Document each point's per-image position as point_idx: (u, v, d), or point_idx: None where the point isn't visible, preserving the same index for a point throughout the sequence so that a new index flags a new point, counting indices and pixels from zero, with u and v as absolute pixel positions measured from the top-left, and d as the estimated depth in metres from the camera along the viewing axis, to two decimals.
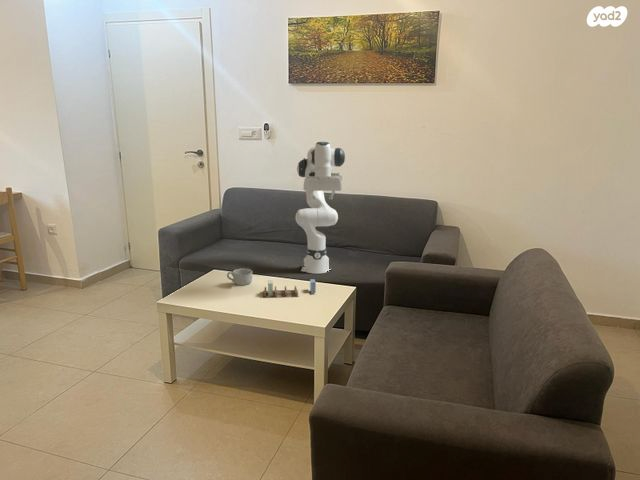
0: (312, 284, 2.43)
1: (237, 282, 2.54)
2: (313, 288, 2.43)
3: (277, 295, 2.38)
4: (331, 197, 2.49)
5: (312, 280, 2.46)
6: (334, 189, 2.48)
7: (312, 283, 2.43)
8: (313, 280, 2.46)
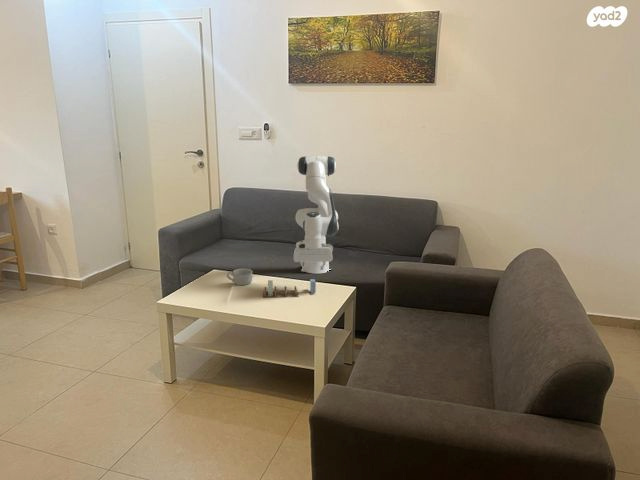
0: (312, 284, 2.43)
1: (237, 282, 2.54)
2: (313, 288, 2.43)
3: (277, 295, 2.38)
4: (322, 268, 2.43)
5: (312, 280, 2.46)
6: (325, 260, 2.42)
7: (312, 283, 2.43)
8: (313, 280, 2.46)
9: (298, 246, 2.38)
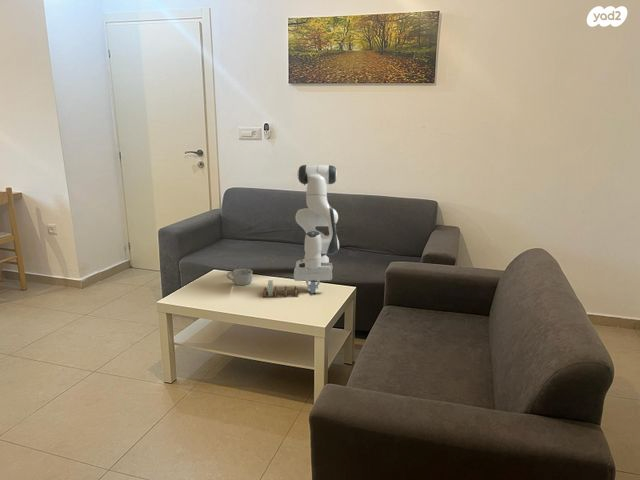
0: (312, 284, 2.43)
1: (237, 282, 2.54)
2: (313, 288, 2.43)
3: (277, 295, 2.38)
4: (316, 286, 2.45)
5: None
6: (324, 279, 2.44)
7: (312, 283, 2.43)
8: None
9: (298, 265, 2.40)
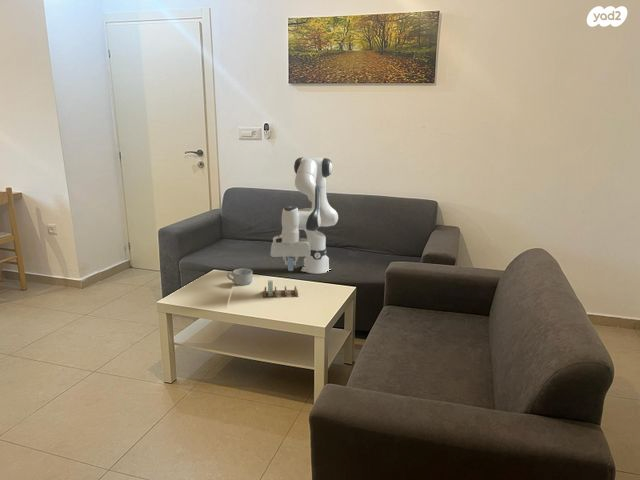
0: (289, 260, 2.35)
1: (237, 282, 2.54)
2: (291, 264, 2.35)
3: (277, 295, 2.38)
4: (294, 263, 2.37)
5: None
6: (302, 255, 2.36)
7: (289, 259, 2.35)
8: None
9: (275, 240, 2.32)
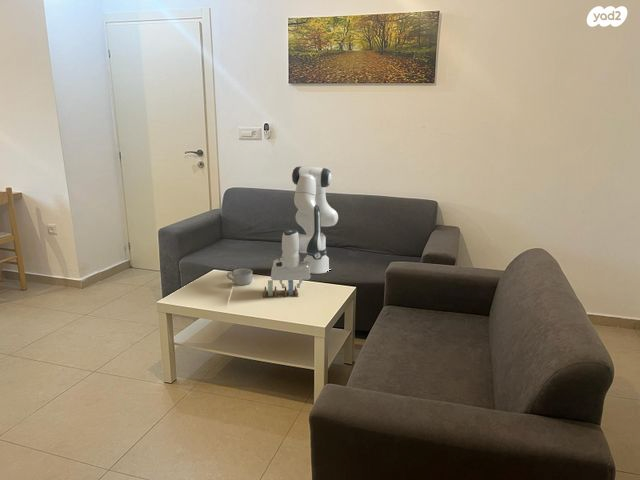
0: (290, 285, 2.38)
1: (237, 282, 2.54)
2: (291, 289, 2.38)
3: (277, 295, 2.38)
4: (298, 286, 2.40)
5: (290, 281, 2.41)
6: (302, 278, 2.39)
7: (289, 283, 2.37)
8: (291, 281, 2.41)
9: (275, 264, 2.34)
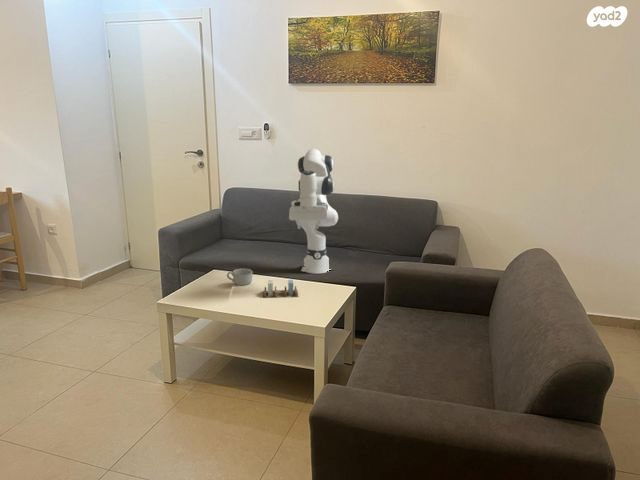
0: (290, 285, 2.38)
1: (237, 282, 2.54)
2: (291, 289, 2.38)
3: (277, 295, 2.38)
4: (317, 226, 2.46)
5: (290, 281, 2.41)
6: (320, 218, 2.45)
7: (289, 283, 2.37)
8: (291, 281, 2.41)
9: (293, 204, 2.40)
